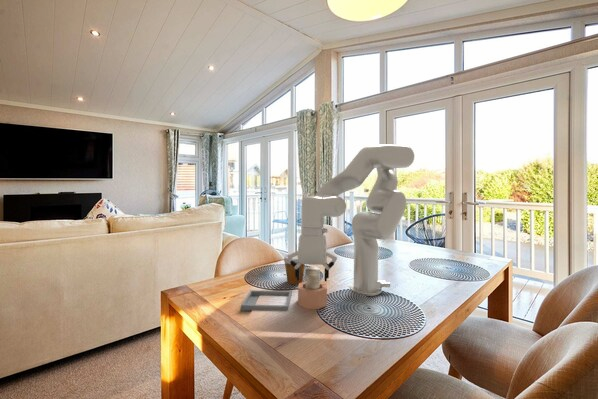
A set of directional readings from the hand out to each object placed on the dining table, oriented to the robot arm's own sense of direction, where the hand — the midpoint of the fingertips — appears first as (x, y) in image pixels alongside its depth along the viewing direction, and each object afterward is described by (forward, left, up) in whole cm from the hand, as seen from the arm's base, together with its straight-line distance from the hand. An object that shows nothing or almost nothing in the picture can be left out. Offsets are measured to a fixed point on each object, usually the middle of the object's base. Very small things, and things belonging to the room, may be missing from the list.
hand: (311, 279), depth 100 cm
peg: (0, 0, -8) cm, 8 cm away
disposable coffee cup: (+8, -20, -10) cm, 24 cm away
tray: (+16, 0, -9) cm, 18 cm away
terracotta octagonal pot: (0, 0, -9) cm, 9 cm away
